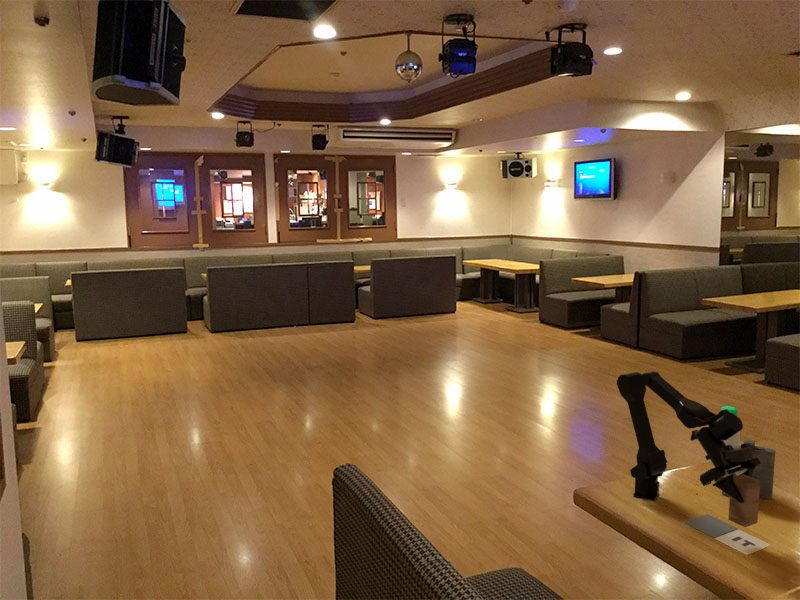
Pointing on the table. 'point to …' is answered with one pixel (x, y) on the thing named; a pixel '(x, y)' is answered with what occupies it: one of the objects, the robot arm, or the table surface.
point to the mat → (710, 525)
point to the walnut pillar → (745, 501)
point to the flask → (762, 470)
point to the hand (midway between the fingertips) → (748, 500)
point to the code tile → (742, 541)
